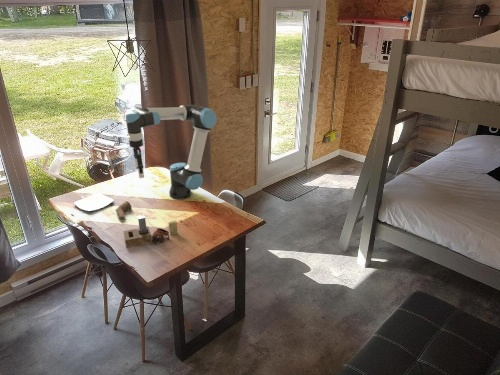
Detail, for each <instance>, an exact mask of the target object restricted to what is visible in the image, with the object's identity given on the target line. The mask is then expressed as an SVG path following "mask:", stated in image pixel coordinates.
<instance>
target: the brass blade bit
mask: <svg viewBox="0 0 500 375" xmlns="http://www.w3.org/2000/svg"><path fill="white" fill-rule="evenodd" d="M168 229H169V230H168V232H169V236H172V235H176V234H177V235H178V234H179V232H178V221H177V220H171V221H168Z"/></svg>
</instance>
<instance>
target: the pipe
mask: <svg viewBox="0 0 500 375" xmlns="http://www.w3.org/2000/svg"><path fill="white" fill-rule="evenodd" d="M130 210H132V205H131V203H130V202H129V201H128V200H127V201H125V202H123V203H122V204H120V205H119V206H118V207H117V208H116V209H115V212H116V215H117V217H118V220H119V221H120V222H121V221H124V220H125V219H126V218H125V213H126V212H128V211H130Z"/></svg>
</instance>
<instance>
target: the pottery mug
mask: <svg viewBox="0 0 500 375" xmlns="http://www.w3.org/2000/svg"><path fill="white" fill-rule="evenodd" d="M165 237H167V240H170V231H169V230H166V229H163V228H160V227H158V228H156V230H155V231H154V232H153V233H152V237H151V238H152V243H151V244H154V245H156V246H158V244H159V245H160V244H161V245H162V244H163V242H164V240H165Z"/></svg>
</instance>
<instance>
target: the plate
mask: <svg viewBox="0 0 500 375" xmlns="http://www.w3.org/2000/svg"><path fill="white" fill-rule="evenodd" d="M114 202H115V199H113V198H111V197H109V196H106V195H104V194H102V193H100V192H96V193H93V194H92V195H89V196H87V197H85V198H81V199H79V200H77V201H74V202H73V204H74V205H75V206H76V207H77V208H79V209H80V210H82V211H84V212H88V213H92V212H95V211H99V210H101V209H104V208H106V207H108V206H109V205H111V204H112V203H114Z"/></svg>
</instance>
